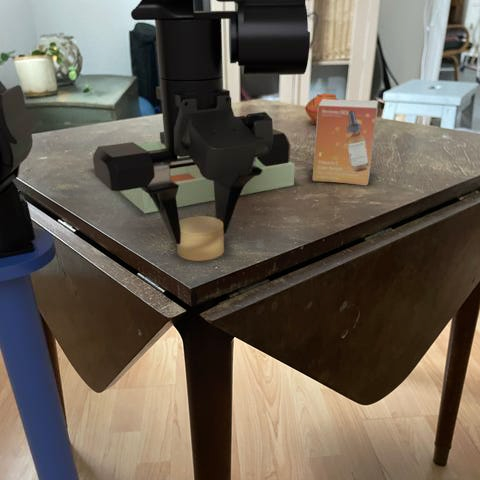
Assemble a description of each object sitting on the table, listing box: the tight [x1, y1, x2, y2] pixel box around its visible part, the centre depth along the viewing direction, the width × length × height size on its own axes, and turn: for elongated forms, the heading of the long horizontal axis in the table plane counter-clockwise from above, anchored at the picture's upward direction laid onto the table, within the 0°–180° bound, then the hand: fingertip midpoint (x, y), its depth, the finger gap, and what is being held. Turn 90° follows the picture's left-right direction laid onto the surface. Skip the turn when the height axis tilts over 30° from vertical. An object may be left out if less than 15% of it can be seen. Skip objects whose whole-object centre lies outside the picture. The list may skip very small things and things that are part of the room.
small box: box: [312, 99, 379, 186], centre depth 76 cm, size 8×6×10 cm
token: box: [176, 215, 225, 262], centre depth 57 cm, size 5×5×3 cm
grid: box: [91, 140, 296, 214], centre depth 80 cm, size 22×22×3 cm
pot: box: [304, 93, 339, 125], centre depth 108 cm, size 8×8×7 cm
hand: (199, 237), depth 57 cm, fingers closed on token, 5 cm apart
